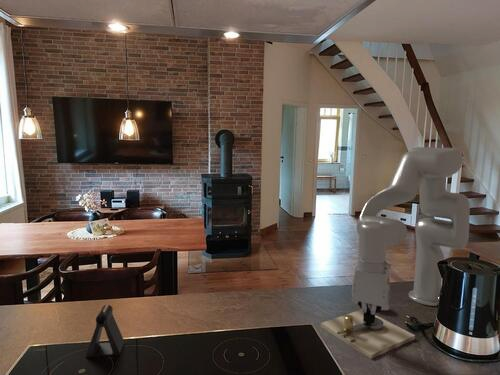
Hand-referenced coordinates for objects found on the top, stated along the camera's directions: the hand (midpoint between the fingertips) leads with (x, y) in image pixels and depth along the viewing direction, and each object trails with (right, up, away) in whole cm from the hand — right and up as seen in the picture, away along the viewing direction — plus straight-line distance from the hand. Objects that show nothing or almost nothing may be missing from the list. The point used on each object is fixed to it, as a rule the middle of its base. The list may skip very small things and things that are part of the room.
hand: (369, 324), depth 104 cm
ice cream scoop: (-1, -4, +6) cm, 7 cm away
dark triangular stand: (-76, -6, -4) cm, 77 cm away
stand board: (+1, -5, +7) cm, 9 cm away
